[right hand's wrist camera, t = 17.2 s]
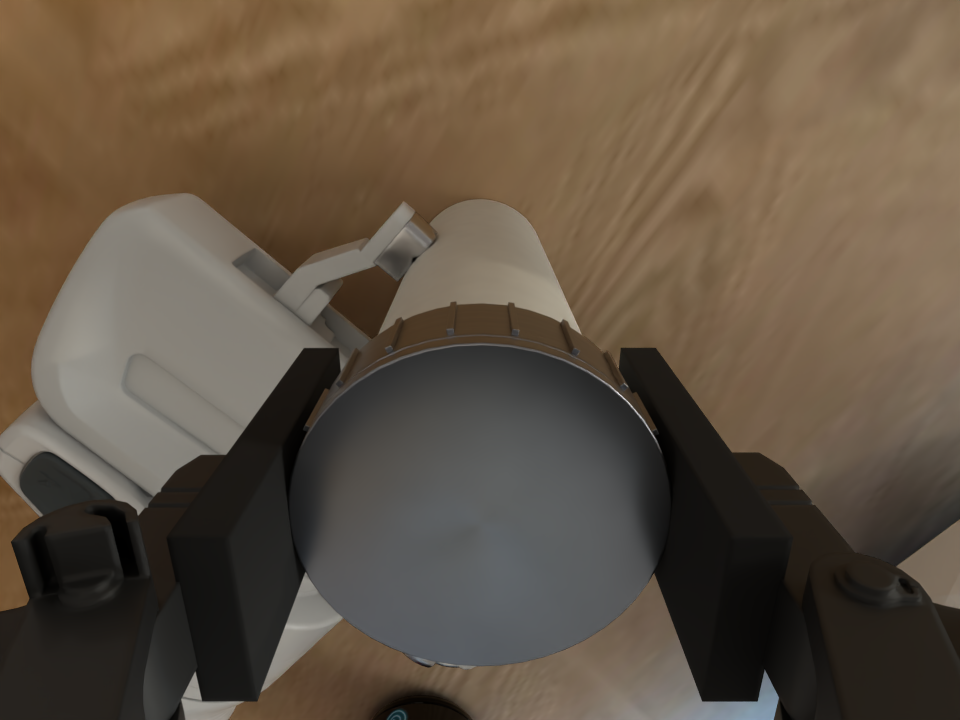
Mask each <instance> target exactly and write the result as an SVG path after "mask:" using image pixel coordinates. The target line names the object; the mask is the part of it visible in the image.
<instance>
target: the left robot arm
mask: <svg viewBox="0 0 960 720" xmlns="http://www.w3.org/2000/svg"><path fill="white" fill-rule="evenodd" d="M437 233H438V232H437V231H436V230H435V229H434V228H433V227H432V226H431V225H430V224H428V223H427V222H426V221H425V220H424V219H423V218H422V217H421V216H420V215H419V214H418V213H417V212H415V210H414V209H413V208H411V207H410V206H409V205H408V204H407V203H406V202H404V201H403V202H402V203H401V204H400V205H399V207H398V208H397V209H396V210H395V211H394V212H393V213H392V215H391V216H390V217H389V218H388V219H387V220H386V222H385V223H384V224H383V225H382V226H381V227H380V229H379V230H378V231H377V232H376V233H375V234H374V236H373V237H372V238H371V239H370V240H369V239H368V238H363V239H360V240H357V241H354V242H351V243H347V244H344V245H341V246H338V247H335V248H331V249H328V250H325V251H322V252H319V253H316V254H313V255H312V256H311V257H310V258H308V259H307V260H306V261H305V262H304V263H303V264H302V265H301V266H299V267H298V268H297V269H296V271H295V272H294V273H293V274H292V273H291V272H289V271H288V270H287V269H286V268H284V267H283V266H282V265H281V264H280V263H278V262H277V261H276V260H275V259H274V258H272V257H271V256H270V255H269V254H267V253H266V252H265V251H264V250H263V249H261V248H260V247H259V246H258V245H256V244H255V243H254V242H253V241H252V240H250V239H249V238H248V237H247V236H246V235H244V234H243V233H242V232H241V231H239V230H238V229H237V228H236V227H235V226H233V225H232V224H231V223H230V222H229V221H227V220H226V219H225V218H224V217H222V216H221V215H220V214H219V213H218V212H216V211H215V210H214V209H213V208H212V207H210V206H209V205H208V204H207V203H206V202H204V201H203V200H202V199H200V198H199V197H197V196H195V195H193V194H190V193H176V194H165V195H158V196H152V197H147V198H143V199H139V200H136V201H133V202H130V203H128V204H126V205H124V206H122V207H120V208H118V209H117V210H115V211H114V212H112V213H111V214H110V215H109V216H108V217H107V218H106V219H105V220H104V221H103V222H102V224H101V225H100V226H99V228H98V229H97V230H96V232H95V233H94V235H93V236H92V237H91V239H90V240H89V242H88V243H87V245H86V247H85V248H84V250H83V251H82V253H81V254H80V256H79V258H78V259H77V261H76V263H75V264H74V266H73V268H72V269H71V271H70V273H69V275H68V277H67V278H66V280H65V282H64V284H63V286H62V287H61V289H60V291H59V293H58V295H57V297H56V299H55V301H54V303H53V305H52V307H51V309H50V311H49V314H48V316H47V318H46V320H45V322H44V325H43V327H42V329H41V331H40V334H39V336H38V338H37V341H36V344H35V347H34V351H33V356H32V363H31V377H32V384H33V388H34V391H35V394H36V396H37V398H38V400H37V401H36V402H35V403H33V404H32V405H31V406H30V407H29V408H27V409H26V410H25V411H24V412H23V413H22V414H21V415H20V416H19V417H18V418H17V419H16V420H15V421H14V422H13V423H12V424H11V425H10V426H9V427H8V428H7V429H6V430H5V431H4V432H3V433H2V434H1V435H0V475H1V477H2V478H3V479H4V480H5V481H6V482H7V483H8V484H9V485H10V486H11V488H12V489H13V490H14V491H15V492H16V493H17V494H18V495H19V496H20V497H21V498H22V499H23V500H24V501H25V502H26V503H27V504H28V505H29V506H30V507H31V508H32V509H33V510H34V511H35V512H36V514H37V515H38V516H39V517H41V516H43V515H46V514H48V513H51V512H53V511H55V510H58V509H60V508H62V507H65V506H69V505H73V504H77V503H81V502H85V501H90V500H106V499H112V500H117V501H122V502H127V503H128V504H130V505H131V506H132V507H134V508H135V509H136V510H137V513H138V515H139V514H140V513H141V512H142V511H143V509H144V508H148V503H149V502H150V501H151V500H152V499H153V497H154V496H155V495H156V494H157V493H158V492H161V488H162V487H163V485H164V484H165V483H166V482H167V481H168V479H169V478H170V477H171V476H172V475H173V473H174V472H175V471H176V470H177V469H179V468H180V467H182V466H184V465H185V464H187V463H188V462H190V461H192V460H193V459H195V458H196V457H198V456H200V455H226V454H227V453H228V452H229V450H230V449H231V448H232V446H233V445H234V443H235V442H236V441H237V439H238V438H239V437H240V435H241V434H242V432H243V431H244V430H245V428H246V427H247V426H248V424H249V423H250V421H251V420H252V419H253V417H254V416H255V415H256V413H257V412H258V410H259V409H260V408H261V406H262V405H263V404H264V402H265V401H266V399H267V398H268V397H269V395H270V394H271V393H272V391H273V390H274V388H275V387H276V386H277V384H278V383H279V381H280V380H281V379H282V377H283V376H284V375H285V373H286V372H287V370H288V369H289V368H290V366H291V365H292V364H293V362H294V361H295V359H296V358H297V357H298V355H299V354H300V353H301V351H302V350H303V348H339V356H340V368H341V371H342V369H343V368H344V366H345V364H346V362H347V360H348V358H349V356H350V354H351V352H352V351H353V350H354V349H355V348H357V349H358V350H360V349H361V348H362V347H363V346H365V345H366V344H367V343H368V342H369V341H370V340H372V339H371V338H370V337H369V336H367V335H366V334H365V333H364V332H362V331H361V330H360V329H359V328H358V327H356V326H355V325H354V324H353V323H351V322H350V321H349V320H348V319H347V318H345V317H344V316H343V315H342V314H341V313H339V312H338V311H337V310H336V309H334V308H333V307H332V306H331V305H330V304H328V303H329V302H330V300H331V299H332V298H333V297H334V295H335V294H336V293H337V291H338V290H339V289H340V287H341V286H342V285H343V280H342V279H341V277H345V276H348V275H351V274H354V273H357V272H360V271H363V270H366V269H369V268H372V267H375V266H376V265H378V266H379V267H380V268H381V269H382V270H384V271H385V272H386V273H387V274H389V275H390V276H391V277H392V278H393V279H395V280H396V281H397V282H398V281H399V280H400V279H401V278H402V276H403V275H404V274H405V273H406V272H407V271H408V269H409V268H410V266H411V265H412V263H413V260H414V258H415V257H419V256H420V255H421V254H422V253H424V252H425V251H426V250H427V249H428V247H429V246H430V245H431V244H432V243H433V241H434V240H435V238H436V235H437ZM342 619H343V617H342V616H340V615H339V614H338V613H337V612H336V611H335V610H334V609H333V608H332V607H331V606H330V605H329V604H328V603H327V602H326V600H325V599H324V598H323V597H322V596H321V595H320V593H319V592H318V590H317V589H316V588H315V586H314V585H313V583H312V582H311V581H310V579H309V577H308V575H307V574H306V572H305V575H304V577H303V580H302V583H301V586H300V588H299V591H298V594H297V596H296V599H295V602H294V604H293V607H292V610H291V612H290V615H289V618H288V620H287V623H286V626H285V628H284V631H283V634H282V636H281V639H280V642H279V644H278V647H277V650H276V652H275V655H274V658H273V660H272V663H271V666H270V668H269V671H268V674H267V677H266V679H265V682H264V685H263V687H262V690H261V692H262V691H264V690H265V689H267V688H268V687H269V686H270V685H271V684H272V683H273V682H275V681H276V680H277V679H278V678H279V677H280V676H281V675H282V674H283V673H284V672H286V671H287V670H288V669H289V668H290V667H291V666H292V665H293V664H294V663H295V662H297V661H298V660H299V659H300V658H301V657H302V656H303V655H304V654H305V653H306V652H307V651H308V650H310V649H311V648H312V647H313V646H314V645H315V644H316V643H317V642H318V641H319V640H320V639H321V638H322V637H323V636H324V635H326V634H327V633H328V632H329V631H330V630H331V629H332V628H333V627H334V626H335V625H336V624H338V623H339V622H340V621H341V620H342ZM402 653H403V652H402ZM403 654H404V655H405V656H407V657H408V658H409V659H411V660H412V661H414V662H415V663H417V664H420V665H422V666H425V667H432V666H433V665H434V664H435V663H436V664H438V665H441V666H446V667H460V668H461V669H471V668H474V667H476V666H465V665H452V664H446V663H440V662H434V661H430V660H426V659H422V658H418V657H415V656H411V655H408V654H406V653H403ZM181 700H182V705H183V709H184V714H185V720H228V719H229V718H230V716H231V715H232V713H233V711H234V709H235V707H236V705H238V704H241V703H243V702H245V701H202V699H201V694H200V690H199V685H198V681H197V676H196V672H195V673H194V675H193V677H192V679H191V681H190V683H189V685H188V687H187V689H186V691H185V693H184V695H183V697H182V699H181Z"/></svg>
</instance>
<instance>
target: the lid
mask: <svg viewBox="0 0 960 720" xmlns="http://www.w3.org/2000/svg"><path fill="white" fill-rule="evenodd" d="M303 430H304V431H306V432H307V434H306V436H305V438H304V440H303V442H302V444H301V446H300V449H299V451H298V453H297V455H296V458H295V462H294V465H293V469H292V472H291V476H290V483H289V492H288V512H289V520H290V528H291V534H292V540H293V543H294V546H295V549H296V552H297V554H298V557H299V560H300V562H301V564H302V566H303V568H304V570H305V572H306V574H307V575H308V577H309V579H310V581H311V582H312V583H313V585H314V586H315V588H316V589H317V590H318V592H319V593H320V595H321V596H322V597H323V598H324V599H325V600H326V602H327V603H328V604H329V605H330V606H331V607H332V608H333V609H334V610H335V611H336V612H337V613H338V614H339V615H340V616H342V617H343V618H344V619H345V620H346V621H348V622H349V623H350V624H351V625H352V626H354V627H355V628H357V629H358V630H360V631H361V632H363V633H364V634H366V635H368V636H369V637H371V638H372V639H374V640H376V641H378V642H380V643H382V644H384V645H386V646H388V647H390V648H393V649H395V650H398V651H400V652H403V653H406V654H408V655H411V656H415V657H418V658H422V659H426V660H430V661H434V662H440V663H446V664H452V665H465V666H497V665H506V664H514V663H521V662H526V661H530V660H534V659H538V658H542V657H546V656H548V655H551V654H554V653H557V652H560V651H562V650H565V649H567V648H569V647H571V646H574V645H576V644H578V643H580V642H582V641H584V640H586V639H587V638H589V637H591V636H592V635H594V634H595V633H597V632H599V631H600V630H602V629H603V628H605V627H606V626H607V625H608V624H610V623H611V622H612V621H613V620H615V619H616V618H617V617H618V616H620V615H621V614H622V613H623V612H624V611H625V610H626V609H627V608H628V607H629V606H630V605H631V604H632V603H633V602H634V601H635V600H636V598H637V597H638V596H639V594H640V593H641V592H642V590H643V589H644V588H645V586H646V585H647V584H648V582H649V580H650V579H651V577H652V575H653V573H654V572H655V570H656V568H657V566H658V564H659V562H660V559H661V557H662V554H663V552H664V549H665V546H666V543H667V539H668V532H669V525H670V517H671V508H672V492H671V481H670V477H669V473H668V469H667V465H666V461H665V458H664V456H663V453H662V451H661V449H660V446H659V444H658V441H657V439H656V437H655V435H658V434H659V433H658V431H657V428H656V427H655V425H654V423H653V421H652V419H651V418H650V416H649V414H648V412H647V410H646V408H645V407H644V405H643V403H642V401H641V399H640V398H639V396H638V394H637V392H635V393H633V394H632V392H631V390H630V388H629V387H628V385H627V383H626V382H625V380H624V378H623V376H622V374H621V373H620V371H619V369H618V367H617V365H616V363H615V361H614V359H613V357H612V356H611V354H610V353H609V352H608V351H606V352H605V353H603V352H602V351H601V350H600V349H599V348H598V347H597V346H595V345H594V344H593V343H592V342H591V341H590V340H589V339H587V338H586V337H584V336H583V335H581V334H580V333H578V332H577V331H575V330H574V329H572V328H571V327H570V325H569V323H568V321H566V320H564V319H563V320H562V321H561V322H559V321H557V320H555V319H553V318H551V317H548V316H545V315H542V314H540V313H537V312H534V311H531V310H527V309H522V308H518V307H515V303H512V302H508V305H498V304H485V303H479V304H459V305H457V302H456V301H455V302H450V306H448V307H442V308H436V309H433V310H430V311H427V312H423V313H420V314H417V315H414V316H412V317H410V318H407V319H405V320H403V319H402V317H400V318H398V319H396V321H395V324H394V325H393V326H391V327H389V328H388V329H386V330H385V331H383V332H382V333H380V334H378V335H377V336H375V337H374V338H373V339H372V340H370V341H369V342H368V343H367V344H366V345H365V346H363V347H362V348H361V349H360V350H358V349H357V348H355V349H354V350H353V351H352V352H351V354H350V356H349V358H348V360H347V362H346V364H345V366H344V368H343V369H342V371H341V372H340V374H339V375H338V377H337V378H336V380H335V381H334V383H333V384H332V386H331V388H330V390H328V389H326V388H325V390H324V391H323V393H322V395H321V397H320V399H319V401H318V402H317V404H316V406H315V408H314V410H313V412H312V413H311V415H310V417H309V419H308V421H307V423H306V424H305V426H304V428H303Z"/></svg>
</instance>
